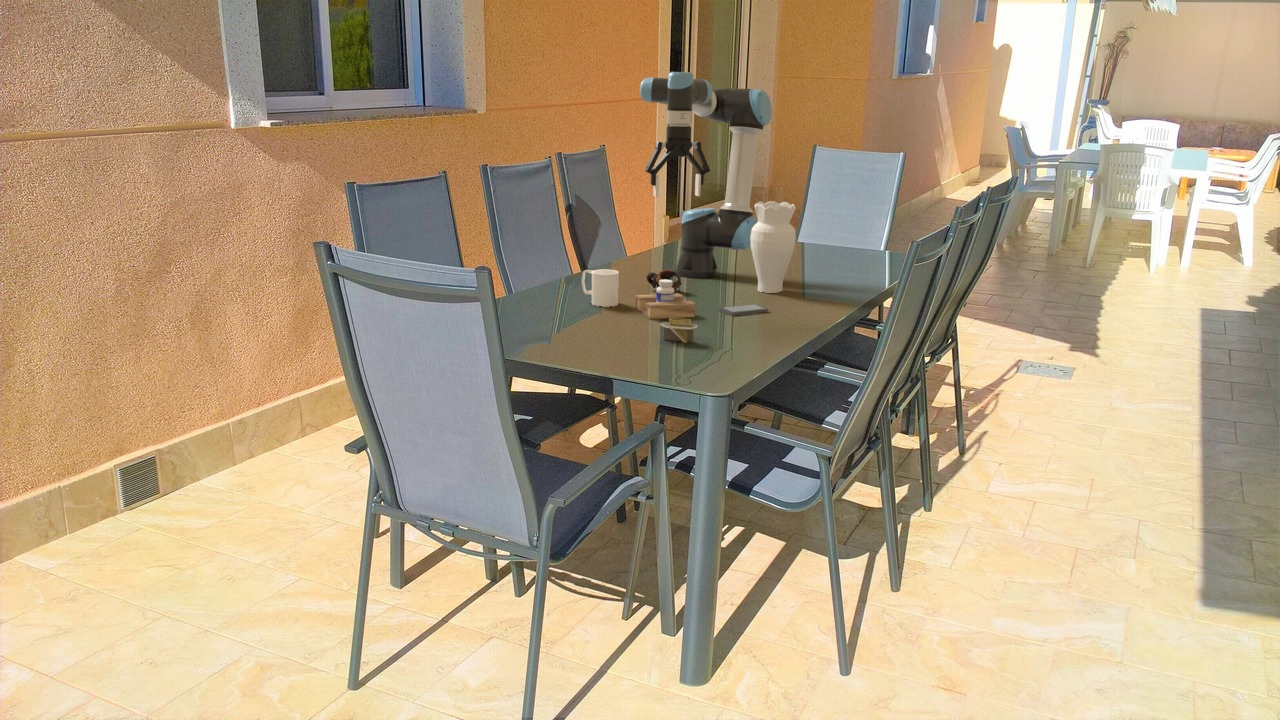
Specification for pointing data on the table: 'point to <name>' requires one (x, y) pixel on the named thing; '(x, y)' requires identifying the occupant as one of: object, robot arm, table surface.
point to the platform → (678, 330)
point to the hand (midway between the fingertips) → (676, 196)
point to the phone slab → (743, 309)
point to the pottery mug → (661, 276)
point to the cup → (603, 287)
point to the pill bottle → (665, 291)
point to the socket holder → (664, 307)
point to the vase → (772, 243)
